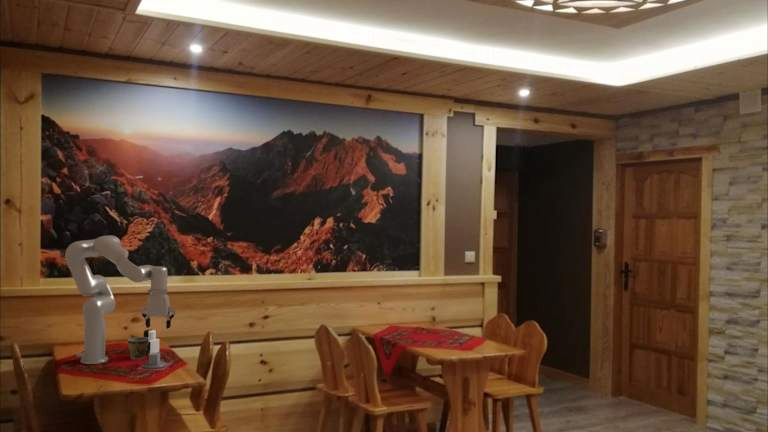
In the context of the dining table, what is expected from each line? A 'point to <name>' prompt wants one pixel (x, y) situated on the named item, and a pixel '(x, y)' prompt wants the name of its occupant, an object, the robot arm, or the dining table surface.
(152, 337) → the medicine bottle
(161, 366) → the lid
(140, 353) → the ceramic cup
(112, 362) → the dining table surface
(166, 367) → the mat
